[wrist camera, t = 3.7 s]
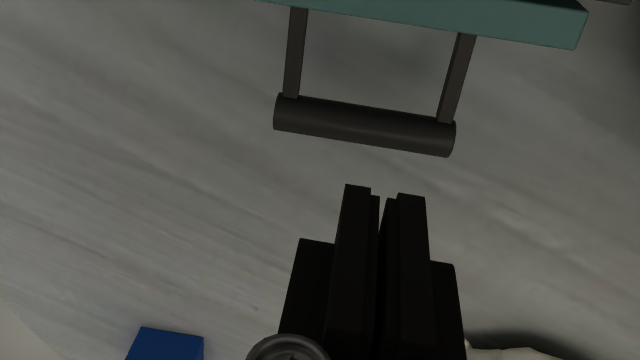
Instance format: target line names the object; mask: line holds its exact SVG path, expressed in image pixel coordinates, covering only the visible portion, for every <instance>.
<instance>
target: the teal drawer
mask: <svg viewBox="0 0 640 360" xmlns="http://www.w3.org/2000/svg"><path fill="white" fill-rule="evenodd" d="M256 1H263V2H269V3H275V4H282V5H288V6H291V9H290V19H289V30H288V40H287V50H286V61H285V71H284V81H283V91H282V92H279V94H278V96H277V99H276V103H275V109H274V116H273V129H274V130H279V131H285V132H291V133H297V134H304V135H310V136H316V137H322V138H328V139H334V140H340V141H347V142H353V143H359V144H365V145H371V146H377V147H383V148H390V149H396V150H402V151H408V152H414V153H420V154H426V155H433V156H439V157H445V158H448V157H449V156H450V154H451V152H452V150H453V146H454V142H455V137H456V122H455V121H454V120H453V118H454V115H455V111H456V108H457V104H458V101H459V97H460V94H461V90H462V87H463V83H464V80H465V76H466V73H467V69H468V66H469V62H470V59H471V55H472V52H473V48H474V45H475V41H476V38H477V35H478V36H484V37H491V38H497V39H503V40H509V41H516V42H522V43H528V44H535V45H541V46H547V47H554V48H560V49H566V50H575V49H576V46H577V44H578V41H579V38H580V36H581V33H582V31H583V28H584V26H585V23H586V20H587V18H588V15H589V11H587V10H586V9H585V8H584V7H583V6H582V5H581V4H580V3H579V2H578V1H577V0H256ZM309 9H313V10H320V11H326V12H332V13H339V14H345V15H351V16H358V17H364V18H370V19H377V20H383V21H389V22H396V23H402V24H408V25H415V26H421V27H427V28H434V29H440V30H446V31H453V32H458V33H457V37H456V41H455V45H454V49H453V52H452V56H451V60H450V64H449V67H448V71H447V75H446V79H445V82H444V86H443V90H442V94H441V97H440V101H439V105H438V109H437V113H436V117H431V116H425V115H419V114H413V113H407V112H400V111H394V110H388V109H382V108H376V107H369V106H363V105H357V104H351V103H345V102H338V101H332V100H326V99H320V98H314V97H308V96H301V95H299V90H300V81H301V72H302V63H303V55H304V46H305V37H306V29H307V20H308V11H309Z"/></svg>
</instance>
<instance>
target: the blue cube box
mask: <svg viewBox="0 0 640 360" xmlns="http://www.w3.org/2000/svg"><path fill="white" fill-rule="evenodd" d="M203 339H204V338H202V337H196V336H191V335H185V334H179V333H173V332H167V331H161V330H155V329H150V328H144V327H141V328H140V330H139V332H138V334H137V336H136V338H135V340H134V342H133V344H132V346H131V348H130V350H129V352H128V354H127V356H126V358H125V360H203Z"/></svg>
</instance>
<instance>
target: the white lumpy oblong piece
mask: <svg viewBox="0 0 640 360" xmlns="http://www.w3.org/2000/svg"><path fill="white" fill-rule="evenodd" d="M464 340H465V347H466V355H467V360H563V359H560V358H557V357H553V356H550V355H547V354H544V353H541V352H538V351H536V350H534V349H532V348H530V347H523V348H510V349H506V350H500V349H492V350H481V349H473V348H472V346H471V344H470V343H469V342H468V341H467V340H466V339H465V338H464Z"/></svg>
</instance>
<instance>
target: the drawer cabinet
mask: <svg viewBox="0 0 640 360" xmlns="http://www.w3.org/2000/svg"><path fill="white" fill-rule="evenodd" d="M596 1H603V2H609V3H616V4H622V5H630V4H631V2H632V0H596Z"/></svg>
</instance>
